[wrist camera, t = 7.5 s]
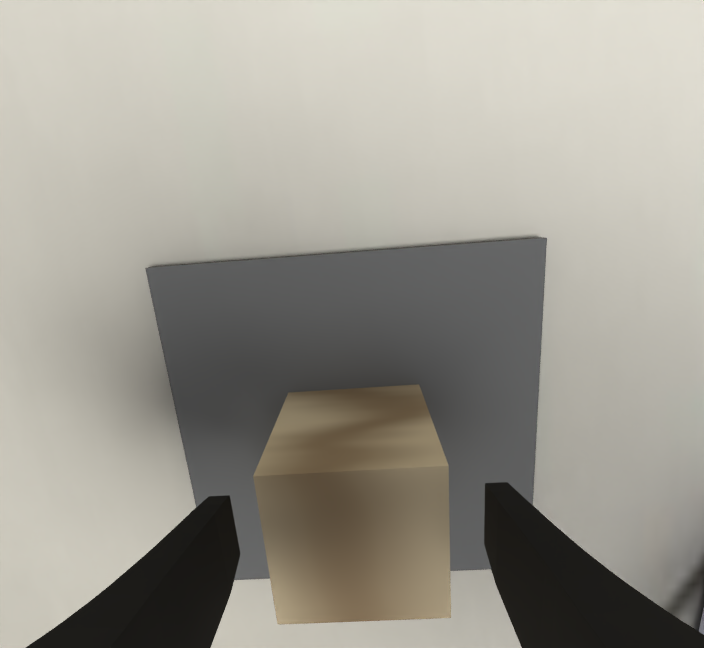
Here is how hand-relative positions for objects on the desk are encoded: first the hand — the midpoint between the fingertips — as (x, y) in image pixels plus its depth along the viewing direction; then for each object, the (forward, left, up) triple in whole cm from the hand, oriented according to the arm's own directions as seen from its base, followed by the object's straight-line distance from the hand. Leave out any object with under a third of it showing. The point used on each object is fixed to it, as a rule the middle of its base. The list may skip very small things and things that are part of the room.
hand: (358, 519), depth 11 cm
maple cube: (0, +1, -5) cm, 5 cm away
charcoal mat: (0, 0, -5) cm, 5 cm away
